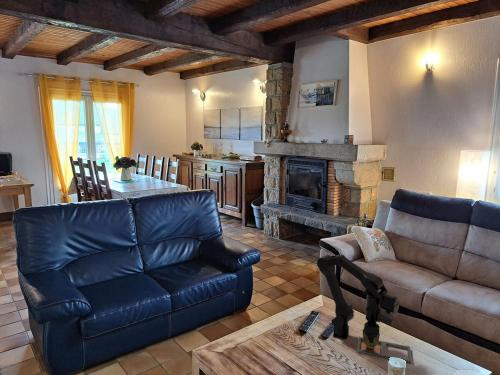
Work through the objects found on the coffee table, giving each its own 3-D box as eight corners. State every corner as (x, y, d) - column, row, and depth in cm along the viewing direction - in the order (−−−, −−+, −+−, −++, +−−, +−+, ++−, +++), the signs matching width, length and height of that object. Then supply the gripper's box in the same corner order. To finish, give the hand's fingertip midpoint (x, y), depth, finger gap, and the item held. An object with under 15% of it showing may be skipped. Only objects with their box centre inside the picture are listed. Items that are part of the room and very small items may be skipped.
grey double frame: (356, 352, 157) (357, 350, 157) (358, 338, 167) (358, 336, 167) (411, 364, 149) (411, 361, 149) (409, 348, 160) (409, 346, 159)
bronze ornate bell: (380, 353, 156) (381, 337, 155) (362, 351, 157) (363, 335, 156) (377, 343, 163) (378, 327, 162) (360, 342, 165) (361, 326, 163)
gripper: (393, 318, 145) (390, 353, 148) (392, 298, 163) (390, 330, 165) (364, 314, 149) (363, 347, 152) (367, 294, 167) (365, 325, 169)
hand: (371, 337), depth 159 cm, fingers open, 9 cm apart
